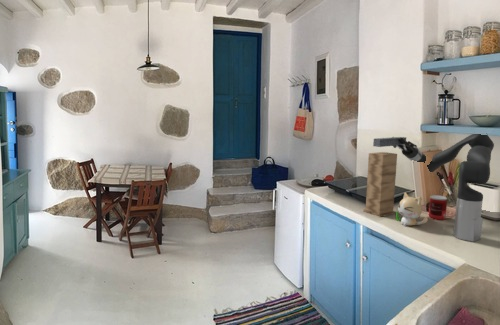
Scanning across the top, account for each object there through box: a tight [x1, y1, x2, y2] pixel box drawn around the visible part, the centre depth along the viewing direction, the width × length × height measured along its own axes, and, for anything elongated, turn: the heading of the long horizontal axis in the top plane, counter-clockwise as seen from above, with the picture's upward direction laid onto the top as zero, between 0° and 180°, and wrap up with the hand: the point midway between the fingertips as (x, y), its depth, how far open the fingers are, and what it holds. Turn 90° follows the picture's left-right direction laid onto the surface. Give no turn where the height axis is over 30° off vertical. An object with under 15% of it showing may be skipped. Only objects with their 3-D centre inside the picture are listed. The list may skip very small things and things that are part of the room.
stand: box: [362, 151, 398, 218], centre depth 180 cm, size 11×12×32 cm
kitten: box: [395, 192, 429, 227], centre depth 162 cm, size 15×10×15 cm
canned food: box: [428, 194, 448, 221], centre depth 173 cm, size 8×8×11 cm
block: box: [372, 136, 407, 148], centre depth 180 cm, size 4×21×4 cm, turn 120°
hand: (395, 138), depth 182 cm, fingers closed on block, 4 cm apart
